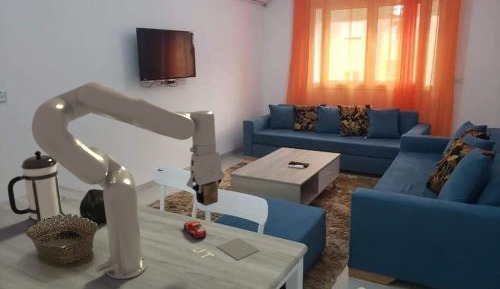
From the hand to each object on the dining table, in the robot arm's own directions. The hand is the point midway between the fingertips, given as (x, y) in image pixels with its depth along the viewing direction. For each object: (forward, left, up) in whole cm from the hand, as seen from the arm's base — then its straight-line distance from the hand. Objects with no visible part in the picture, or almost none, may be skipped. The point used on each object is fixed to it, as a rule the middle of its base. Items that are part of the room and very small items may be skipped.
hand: (207, 199), depth 125 cm
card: (+5, +16, -20) cm, 26 cm away
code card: (-2, +1, -20) cm, 20 cm away
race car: (+4, +16, -20) cm, 26 cm away
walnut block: (0, 0, -1) cm, 1 cm away
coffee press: (-38, +69, -20) cm, 81 cm away
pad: (+9, -5, -20) cm, 22 cm away
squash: (-20, +53, -20) cm, 60 cm away
